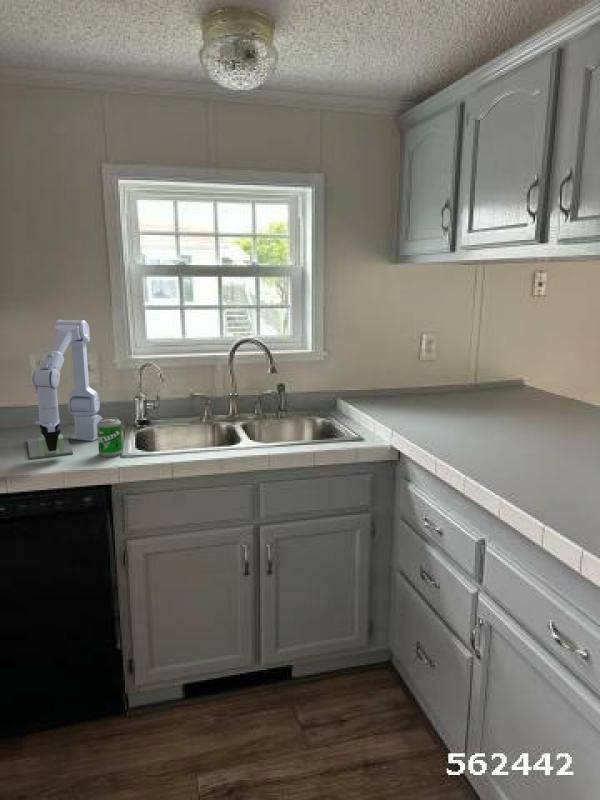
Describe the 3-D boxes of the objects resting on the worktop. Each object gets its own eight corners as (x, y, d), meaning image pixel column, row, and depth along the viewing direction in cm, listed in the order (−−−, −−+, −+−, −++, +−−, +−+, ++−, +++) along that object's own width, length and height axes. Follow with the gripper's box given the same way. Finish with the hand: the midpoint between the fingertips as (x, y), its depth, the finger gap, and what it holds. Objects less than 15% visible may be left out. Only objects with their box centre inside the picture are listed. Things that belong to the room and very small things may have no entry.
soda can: (102, 450, 187) (100, 416, 184) (124, 450, 188) (123, 416, 185) (96, 457, 180) (93, 422, 177) (119, 457, 180) (117, 422, 178)
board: (66, 437, 202) (66, 431, 201) (72, 454, 183) (72, 447, 182) (27, 441, 196) (26, 435, 195) (29, 459, 177) (29, 452, 176)
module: (63, 449, 180) (61, 432, 178) (64, 453, 175) (63, 436, 174) (39, 452, 176) (38, 434, 175) (40, 456, 172) (38, 438, 171)
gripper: (33, 403, 177) (36, 443, 180) (35, 413, 165) (39, 456, 168) (56, 401, 180) (60, 441, 183) (60, 411, 168) (64, 453, 171)
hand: (51, 448), depth 176 cm, fingers closed on module, 5 cm apart
